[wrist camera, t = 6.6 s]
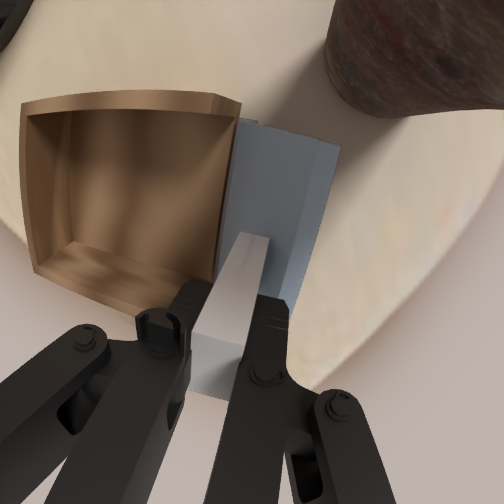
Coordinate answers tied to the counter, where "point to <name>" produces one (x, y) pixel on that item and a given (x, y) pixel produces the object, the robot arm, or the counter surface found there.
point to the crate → (126, 191)
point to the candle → (417, 55)
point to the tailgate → (276, 201)
